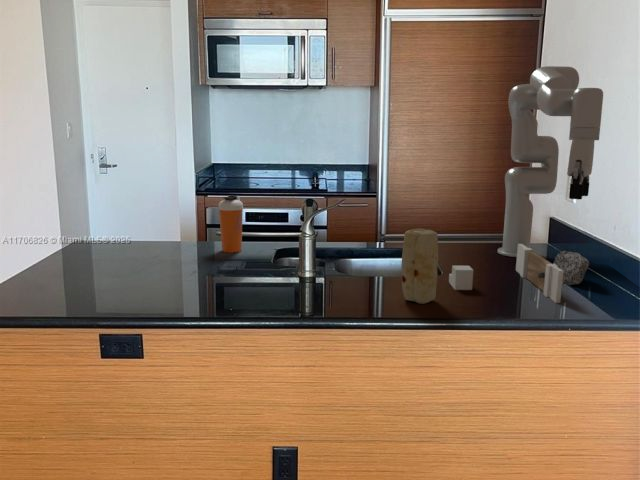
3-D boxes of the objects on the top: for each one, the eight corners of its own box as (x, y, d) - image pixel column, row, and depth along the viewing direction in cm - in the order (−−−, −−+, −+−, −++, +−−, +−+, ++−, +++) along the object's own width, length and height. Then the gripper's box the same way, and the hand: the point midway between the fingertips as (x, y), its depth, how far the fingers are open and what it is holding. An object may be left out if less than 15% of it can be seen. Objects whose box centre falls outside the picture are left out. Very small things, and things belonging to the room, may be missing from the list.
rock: (591, 288, 172) (593, 254, 171) (561, 286, 173) (564, 252, 172) (574, 282, 187) (577, 251, 187) (547, 280, 188) (550, 249, 188)
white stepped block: (472, 290, 170) (473, 270, 169) (454, 289, 170) (456, 270, 169) (465, 282, 178) (466, 263, 177) (448, 281, 178) (449, 262, 177)
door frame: (553, 302, 159) (556, 270, 157) (513, 270, 191) (516, 243, 189) (562, 302, 159) (565, 271, 157) (521, 270, 191) (523, 243, 189)
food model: (433, 297, 163) (437, 227, 159) (438, 305, 157) (442, 232, 152) (398, 297, 163) (401, 226, 159) (402, 304, 157) (405, 231, 152)
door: (539, 293, 167) (542, 263, 165) (521, 278, 182) (523, 250, 180) (548, 293, 167) (551, 263, 165) (529, 278, 182) (532, 250, 180)
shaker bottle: (216, 252, 212) (214, 198, 207) (224, 247, 220) (222, 194, 216) (240, 254, 210) (238, 198, 206) (247, 248, 219) (246, 195, 214)
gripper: (575, 134, 168) (570, 193, 171) (563, 134, 154) (557, 199, 157) (604, 134, 164) (598, 195, 167) (594, 134, 150) (588, 201, 153)
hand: (578, 197), depth 162 cm, fingers open, 9 cm apart
